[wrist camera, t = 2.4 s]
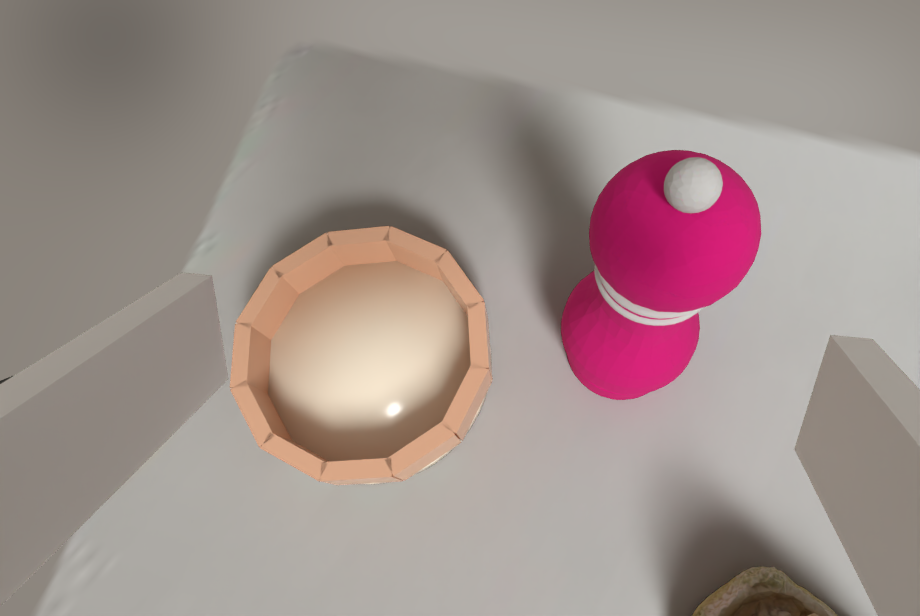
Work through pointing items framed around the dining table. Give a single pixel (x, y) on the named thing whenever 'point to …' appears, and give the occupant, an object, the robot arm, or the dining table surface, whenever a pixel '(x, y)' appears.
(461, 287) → the terracotta bowl
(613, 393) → the pepper mill
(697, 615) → the ceramic model
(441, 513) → the dining table surface
